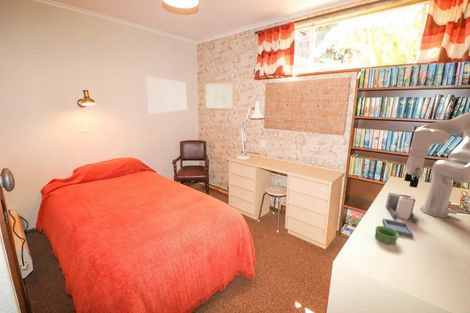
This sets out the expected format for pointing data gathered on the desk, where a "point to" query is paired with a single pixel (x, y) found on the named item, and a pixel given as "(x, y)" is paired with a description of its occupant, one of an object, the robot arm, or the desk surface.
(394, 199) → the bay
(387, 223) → the tray
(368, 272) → the desk surface
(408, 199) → the can
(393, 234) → the ramekin
